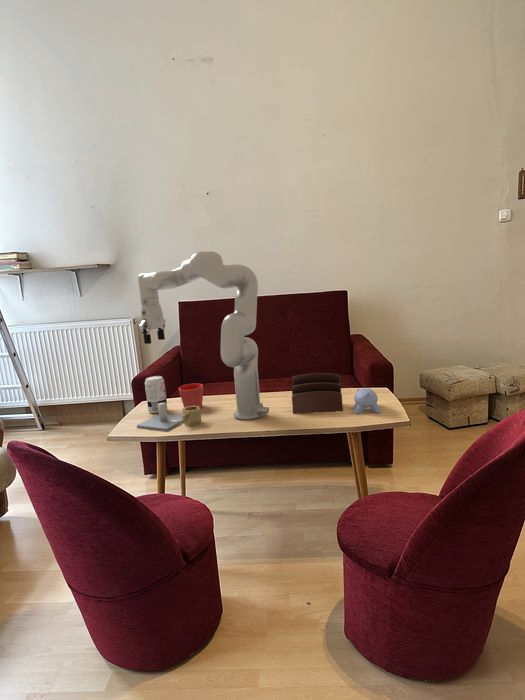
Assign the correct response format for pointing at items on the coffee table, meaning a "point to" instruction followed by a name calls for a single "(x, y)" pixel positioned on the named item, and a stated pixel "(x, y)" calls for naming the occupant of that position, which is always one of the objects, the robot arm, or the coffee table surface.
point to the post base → (161, 424)
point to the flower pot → (191, 394)
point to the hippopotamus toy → (365, 401)
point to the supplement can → (155, 393)
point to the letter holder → (316, 393)
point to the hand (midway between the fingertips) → (154, 341)
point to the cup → (191, 415)
